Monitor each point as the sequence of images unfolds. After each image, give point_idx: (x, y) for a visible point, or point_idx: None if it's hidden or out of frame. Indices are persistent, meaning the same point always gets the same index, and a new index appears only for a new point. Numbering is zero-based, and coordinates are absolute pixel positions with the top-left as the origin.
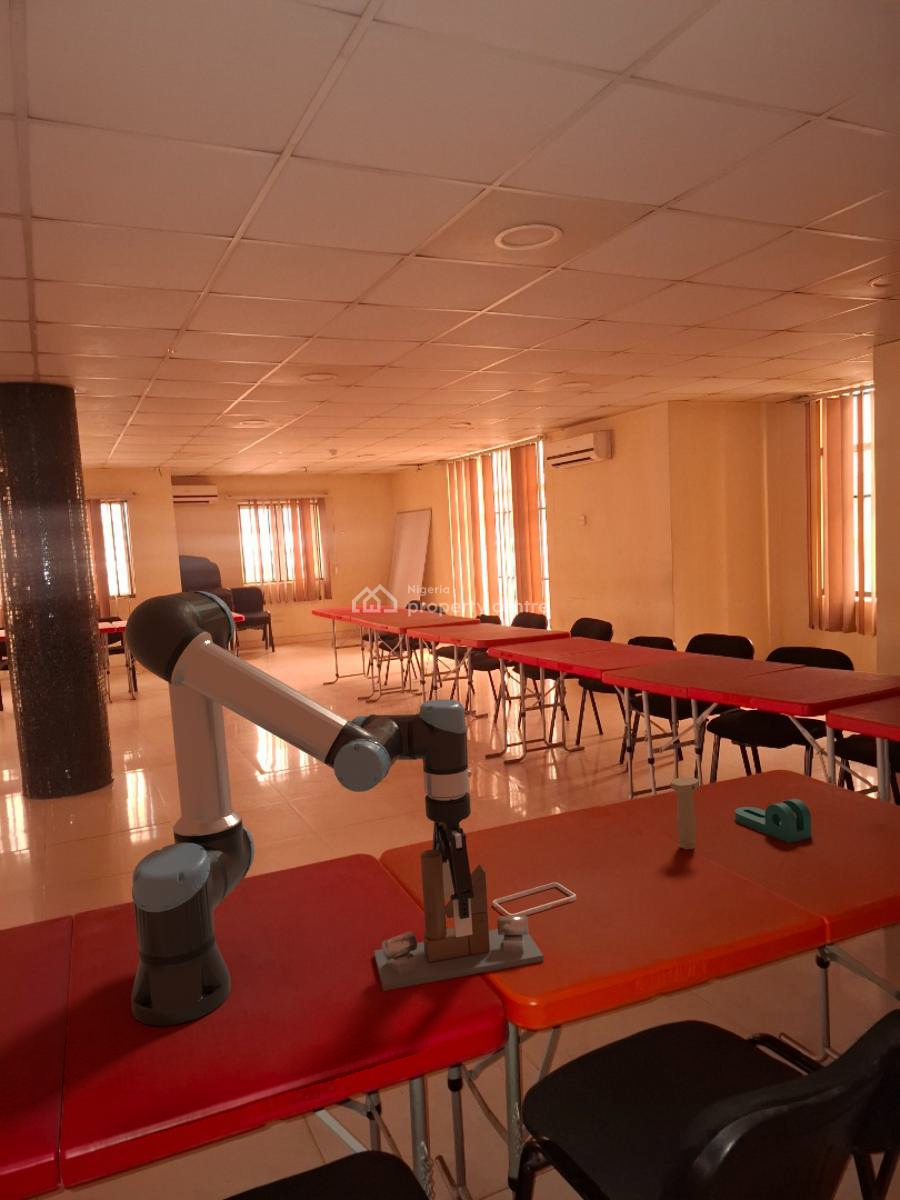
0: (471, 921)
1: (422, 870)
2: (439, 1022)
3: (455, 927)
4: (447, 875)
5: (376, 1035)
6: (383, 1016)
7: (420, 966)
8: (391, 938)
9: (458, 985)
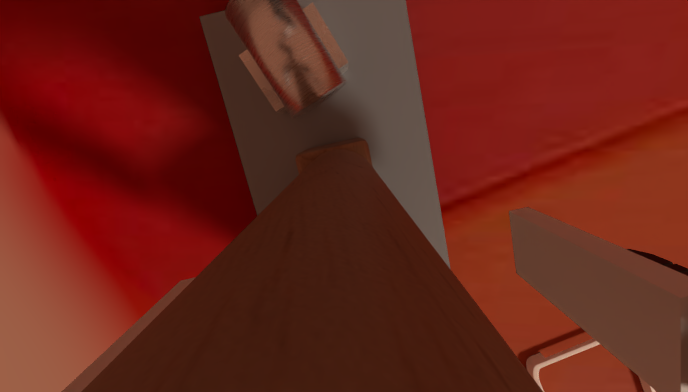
0: None
1: (253, 233)
2: (78, 179)
3: (159, 301)
4: (594, 314)
5: (12, 21)
6: (92, 34)
7: (290, 127)
8: (272, 9)
9: (229, 224)
